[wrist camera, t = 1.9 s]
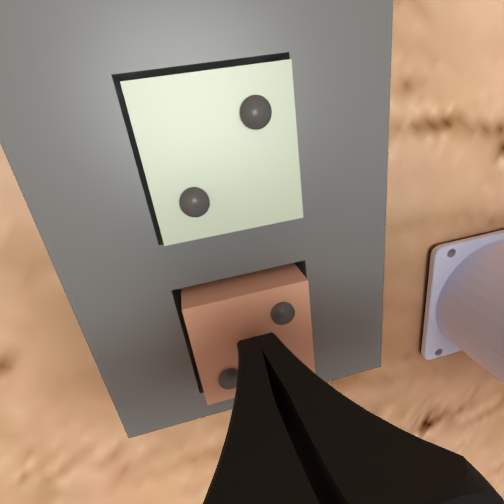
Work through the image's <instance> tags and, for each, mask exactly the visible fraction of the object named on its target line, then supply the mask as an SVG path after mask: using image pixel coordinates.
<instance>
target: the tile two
mask: <svg viewBox="0 0 504 504" xmlns="http://www.w3.org/2000/svg"><path fill="white" fill-rule="evenodd" d="M120 84H121V87H122V91H123V95H124V98H125V102H126V106H127V110H128V113H129V117H130V121H131V124H132V128H133V132H134V135H135V139H136V143H137V147H138V150H139V154H140V158H141V161H142V165H143V169H144V172H145V176H146V180H147V184H148V187H149V191H150V195H151V198H152V202H153V206H154V209H155V213H156V217H157V221H158V224H159V228H160V232H161V235H162V239H163V243H164V246H167V245H172V244H177V243H182V242H187V241H192V240H197V239H201V238H206V237H211V236H216V235H221V234H226V233H231V232H235V231H240V230H245V229H250V228H255V227H260V226H265V225H270V224H274V223H279V222H284V221H289V220H294V219H299V218H303V205H302V192H301V178H300V165H299V152H298V139H297V125H296V112H295V99H294V85H293V72H292V59H288V60H280V61H273V62H265V63H257V64H250V65H242V66H235V67H227V68H219V69H212V70H204V71H196V72H189V73H181V74H173V75H166V76H158V77H150V78H143V79H135V80H128V81H120Z"/></svg>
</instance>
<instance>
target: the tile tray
mask: <svg viewBox="0 0 504 504" xmlns="http://www.w3.org/2000/svg"><path fill="white" fill-rule="evenodd" d="M392 20H393V0H0V143H1V146H2V148H3V150H4V153H5V155H6V157H7V159H8V162H9V164H10V166H11V169H12V171H13V173H14V176H15V178H16V180H17V182H18V185H19V187H20V189H21V192H22V194H23V196H24V199H25V201H26V203H27V205H28V208H29V210H30V212H31V215H32V217H33V219H34V222H35V224H36V226H37V228H38V231H39V233H40V235H41V238H42V240H43V242H44V245H45V247H46V249H47V251H48V254H49V256H50V258H51V261H52V263H53V265H54V268H55V270H56V272H57V274H58V277H59V279H60V281H61V284H62V286H63V288H64V291H65V293H66V295H67V297H68V300H69V302H70V304H71V307H72V309H73V311H74V314H75V316H76V318H77V320H78V323H79V325H80V327H81V330H82V332H83V334H84V337H85V339H86V341H87V343H88V346H89V348H90V350H91V353H92V355H93V357H94V360H95V362H96V364H97V366H98V369H99V371H100V373H101V376H102V378H103V380H104V383H105V385H106V387H107V389H108V392H109V394H110V396H111V399H112V401H113V403H114V405H115V408H116V410H117V412H118V415H119V417H120V419H121V422H122V424H123V426H124V428H125V431H126V433H127V435H128V438H131V437H135V436H138V435H142V434H145V433H149V432H153V431H156V430H160V429H163V428H167V427H170V426H174V425H177V424H181V423H184V422H188V421H191V420H195V419H198V418H202V417H205V416H209V415H212V414H216V413H219V412H223V411H226V410H230V409H233V405H234V399H235V398H232V399H228V400H225V401H221V402H217V403H214V404H210V405H207V402H206V398H205V394H204V391H203V387H202V383H201V380H200V376H199V372H198V369H197V365H196V361H195V357H194V354H193V350H192V346H191V343H190V339H189V335H188V332H187V328H186V324H185V320H184V317H183V313H182V305H181V288H184V287H188V286H193V285H197V284H202V283H206V282H211V281H215V280H219V279H224V278H228V277H233V276H237V275H242V274H246V273H251V272H255V271H259V270H264V269H268V268H273V267H277V266H282V265H286V264H290V263H295V265H296V266H297V267H298V268H299V270H300V271H301V272H302V273H303V274H304V276H305V277H306V278H307V279H308V285H309V298H310V311H311V324H312V338H313V351H314V364H315V374H316V375H317V376H319V377H320V378H321V379H322V380H324V381H325V382H328V381H331V380H335V379H338V378H342V377H346V376H349V375H353V374H356V373H360V372H363V371H367V370H370V369H374V368H377V367H381V343H382V314H383V285H384V255H385V226H386V196H387V167H388V138H389V108H390V79H391V49H392ZM288 59H292V72H293V85H294V99H295V112H296V125H297V139H298V152H299V165H300V178H301V192H302V205H303V218H299V219H294V220H289V221H284V222H279V223H274V224H270V225H265V226H260V227H255V228H250V229H245V230H240V231H235V232H231V233H226V234H221V235H216V236H211V237H206V238H201V239H197V240H192V241H187V242H182V243H177V244H172V245H167V246H164V243H163V239H162V235H161V232H160V228H159V224H158V221H157V217H156V213H155V209H154V206H153V202H152V198H151V195H150V191H149V187H148V184H147V180H146V176H145V172H144V169H143V165H142V161H141V158H140V154H139V150H138V147H137V143H136V139H135V135H134V132H133V128H132V124H131V121H130V117H129V113H128V110H127V106H126V102H125V98H124V95H123V91H122V87H121V84H120V81H128V80H135V79H143V78H150V77H158V76H166V75H173V74H181V73H189V72H196V71H204V70H212V69H219V68H227V67H235V66H242V65H250V64H257V63H265V62H273V61H280V60H288Z"/></svg>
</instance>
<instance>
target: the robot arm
mask: <svg viewBox="0 0 504 504" xmlns="http://www.w3.org/2000/svg"><path fill="white" fill-rule="evenodd" d="M449 250H450V251H449ZM448 251H449V253H448ZM447 253H448V254H447ZM237 349H238V376H237V386H236V393H235V399H234V405H233V410H232V415H231V420H230V424H229V428H228V432H227V436H226V439H225V443H224V446H223V449H222V452H221V456H220V459H219V462H218V465H217V468H216V471H215V474H214V476H213V479H212V481H211V484H210V487H209V489H208V492H207V494H206V497H205V500H204V502H203V504H504V501H503V499H502V497H501V496H500V495H499V494H498V493H497V492H496V490H495V489H494V488H493V487H492V486H491V485H490V483H489V482H488V481H487V480H486V479H485V478H484V477H483V476H482V475H481V474H480V473H479V472H478V471H477V470H476V469H475V468H474V467H473V466H472V465H471V464H470V463H469V462H468V461H467V460H466V459H465V458H464V457H463V456H461V455H459V454H456V453H454V452H451V451H449V450H447V449H444V448H442V447H439V446H437V445H435V444H432V443H430V442H427V441H425V440H423V439H420V438H418V437H416V436H414V435H412V434H410V433H408V432H406V431H404V430H402V429H399V428H398V427H396V426H394V425H392V424H390V423H389V422H387V421H385V420H383V419H381V418H379V417H378V416H376V415H374V414H372V413H370V412H369V411H367V410H365V409H364V408H362V407H361V406H359V405H357V404H356V403H354V402H353V401H351V400H350V399H348V398H347V397H345V396H344V395H342V394H341V393H340V392H338V391H337V390H335V389H334V388H333V387H331V386H330V385H329V384H328V383H326V382H325V381H324V380H322V379H321V378H320V377H319V376H317V375H316V374H315V373H314V372H313V371H312V370H310V369H309V368H308V367H307V366H306V365H305V364H304V363H303V362H302V361H300V360H299V359H298V358H297V357H296V356H295V355H294V354H293V353H292V352H291V351H290V350H289V349H288V348H287V347H286V346H285V345H284V344H283V343H282V342H281V340H280V339H279V338H278V337H277V336H276V335H275V334H274V333H272V332H271V333H267V334H263V335H259V336H256V337H252V338H248V339H244V340H240V341H239V342H238V343H237ZM459 351H463V352H464V353H465V354H466V355H468V356H469V357H470V358H471V359H473V360H474V361H475V362H476V363H477V364H479V365H480V366H481V367H482V368H484V369H485V370H486V371H487V372H489V373H490V374H491V375H492V376H493V377H495V378H496V379H497V380H498V381H500V382H501V383H502V384H503V385H504V230H500V231H496V232H492V233H487V234H483V235H479V236H474V237H470V238H466V239H462V240H457V241H453V242H449V243H444V244H440V245H438V246H436V247H435V248H433V250H432V252H431V257H430V267H429V277H428V288H427V298H426V308H425V318H424V328H423V338H422V348H421V355H422V356H423V357H424V358H425V359H426V360H432V359H435V358H439V357H442V356H446V355H449V354H453V353H456V352H459Z"/></svg>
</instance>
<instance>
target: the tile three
mask: <svg viewBox="0 0 504 504" xmlns="http://www.w3.org/2000/svg"><path fill="white" fill-rule="evenodd" d="M181 305H182V313H183V317H184V320H185V324H186V328H187V332H188V335H189V339H190V343H191V346H192V350H193V354H194V357H195V361H196V365H197V369H198V372H199V376H200V380H201V383H202V387H203V391H204V394H205V398H206V402H207V405H210V404H214V403H217V402H221V401H225V400H228V399H232V398H235V393H236V386H237V376H238V349H237V343H238V342H239V341H240V340H244V339H248V338H252V337H256V336H259V335H263V334H267V333H271V332H272V333H274V334H275V335H276V336H277V337H278V338H279V339H280V340H281V342H282V343H283V344H284V345H285V346H286V347H287V348H288V349H289V350H290V351H291V352H292V353H293V354H294V355H295V356H296V357H297V358H298V359H299V360H300V361H302V362H303V363H304V364H305V365H306V366H307V367H308V368H309V369H310V370H312V371H313V372H314V373H315V364H314V351H313V338H312V324H311V311H310V298H309V285H308V279H307V278H306V277H305V276H304V274H303V273H302V272H301V271H300V270H299V268H298V267H297V266H296V265H295V263H290V264H286V265H282V266H277V267H273V268H268V269H264V270H259V271H255V272H251V273H246V274H242V275H237V276H233V277H228V278H224V279H219V280H215V281H211V282H206V283H202V284H197V285H193V286H188V287H184V288H181Z"/></svg>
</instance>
